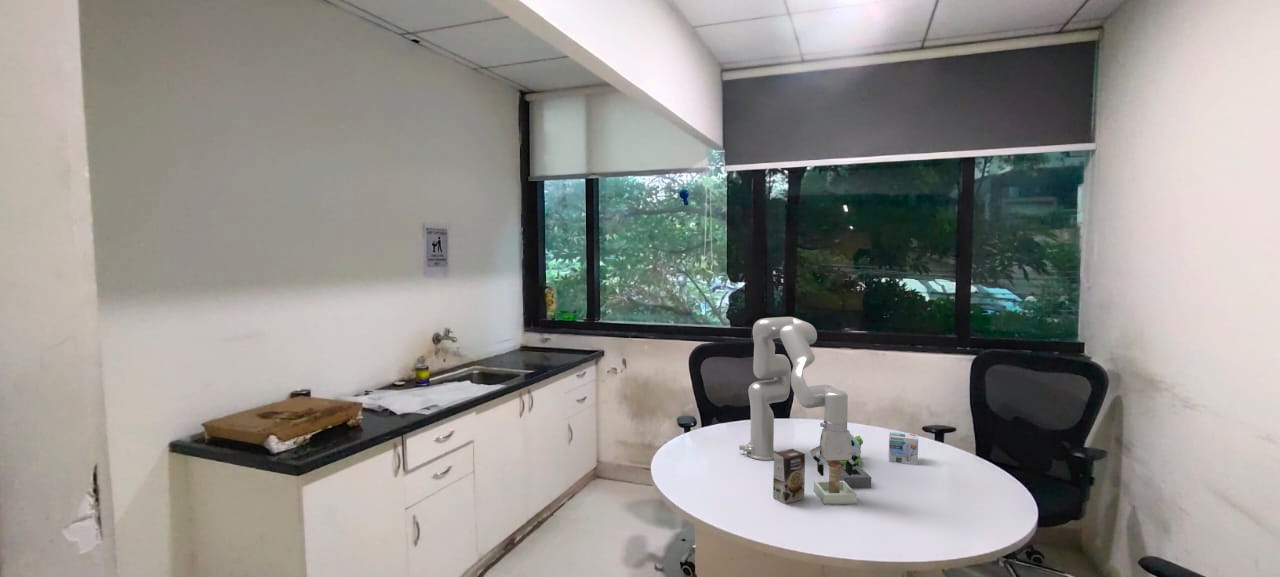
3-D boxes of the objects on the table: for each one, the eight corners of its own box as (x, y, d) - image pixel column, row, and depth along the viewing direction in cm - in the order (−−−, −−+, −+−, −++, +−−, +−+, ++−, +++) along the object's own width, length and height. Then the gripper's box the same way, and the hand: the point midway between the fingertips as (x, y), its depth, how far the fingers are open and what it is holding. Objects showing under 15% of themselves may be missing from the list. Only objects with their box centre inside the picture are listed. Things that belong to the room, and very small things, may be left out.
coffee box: (785, 504, 186) (785, 458, 185) (772, 497, 191) (772, 452, 190) (805, 498, 190) (805, 453, 189) (792, 491, 196) (792, 447, 194)
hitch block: (843, 488, 198) (843, 477, 198) (833, 476, 208) (833, 466, 208) (871, 488, 198) (871, 477, 198) (859, 476, 208) (859, 466, 208)
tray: (824, 504, 185) (824, 494, 185) (813, 490, 196) (813, 481, 196) (856, 504, 185) (856, 494, 185) (843, 490, 196) (844, 480, 196)
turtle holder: (874, 462, 222) (875, 433, 221) (845, 472, 212) (845, 442, 211) (848, 453, 232) (849, 425, 231) (819, 461, 223) (820, 433, 222)
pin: (830, 498, 189) (830, 464, 188) (825, 492, 193) (826, 459, 192) (842, 498, 189) (843, 464, 188) (838, 492, 193) (838, 459, 192)
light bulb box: (888, 462, 222) (889, 436, 221) (888, 456, 228) (888, 431, 228) (918, 465, 218) (919, 439, 217) (916, 459, 224) (917, 434, 224)
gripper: (814, 430, 185) (813, 479, 186) (865, 429, 185) (863, 478, 187) (807, 423, 193) (806, 470, 194) (856, 422, 193) (855, 469, 194)
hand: (834, 474), depth 190 cm, fingers open, 9 cm apart
